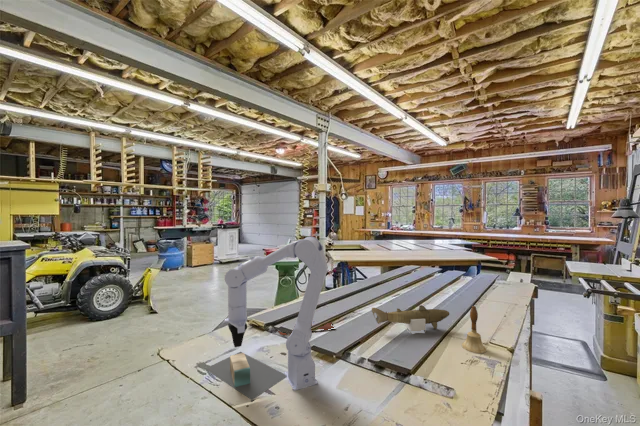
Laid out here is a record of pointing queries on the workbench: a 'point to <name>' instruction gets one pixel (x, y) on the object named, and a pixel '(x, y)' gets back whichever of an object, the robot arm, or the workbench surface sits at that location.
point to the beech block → (239, 369)
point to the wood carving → (412, 317)
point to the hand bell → (474, 336)
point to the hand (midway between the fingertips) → (237, 346)
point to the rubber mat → (259, 376)
